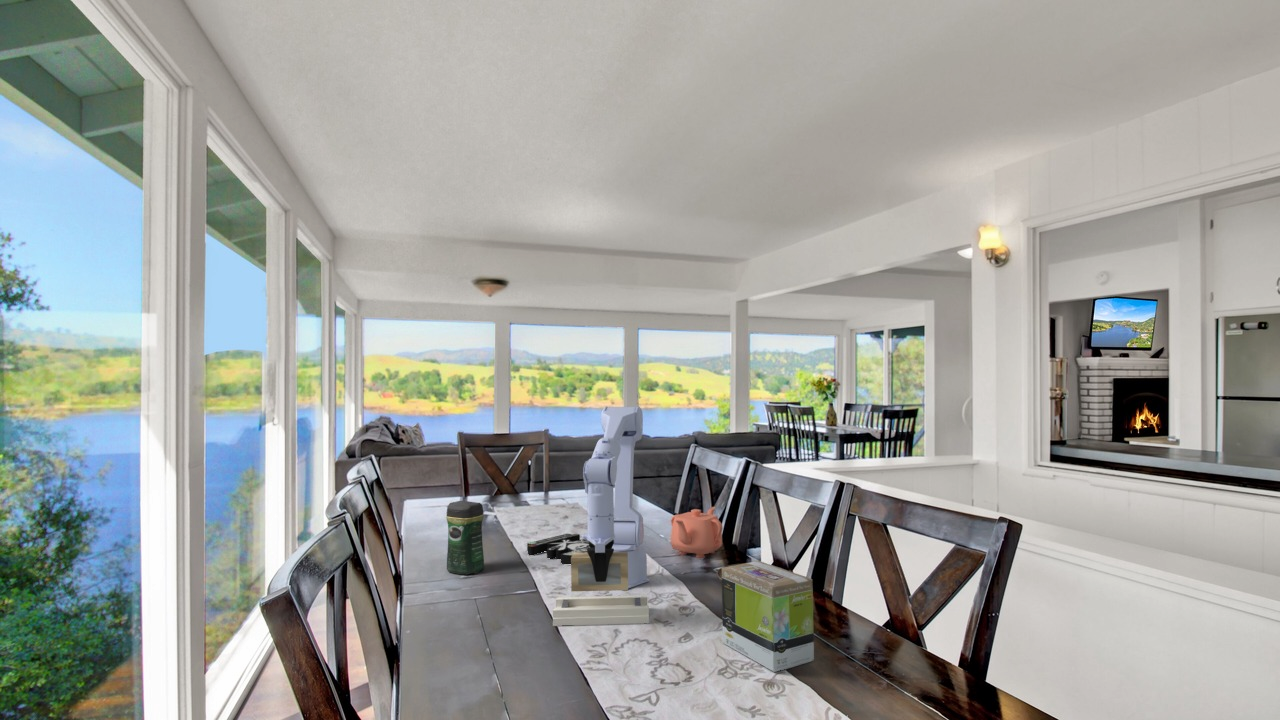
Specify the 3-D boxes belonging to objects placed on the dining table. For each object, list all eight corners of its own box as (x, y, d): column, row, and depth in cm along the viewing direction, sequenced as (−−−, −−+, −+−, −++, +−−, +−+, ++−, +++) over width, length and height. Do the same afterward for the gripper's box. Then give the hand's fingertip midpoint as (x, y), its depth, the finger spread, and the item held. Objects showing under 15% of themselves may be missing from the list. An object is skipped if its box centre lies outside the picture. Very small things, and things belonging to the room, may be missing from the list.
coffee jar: (489, 569, 173) (488, 500, 173) (468, 577, 166) (467, 505, 166) (462, 564, 177) (462, 497, 178) (441, 572, 170) (441, 502, 171)
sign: (571, 532, 202) (639, 548, 182) (571, 542, 202) (640, 559, 182) (522, 544, 188) (590, 563, 168) (522, 554, 188) (590, 574, 168)
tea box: (816, 661, 114) (814, 578, 115) (773, 674, 109) (771, 587, 110) (761, 632, 127) (759, 558, 128) (720, 643, 122) (719, 566, 123)
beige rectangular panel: (573, 585, 139) (572, 552, 139) (628, 584, 139) (627, 551, 139) (571, 591, 135) (570, 558, 135) (628, 590, 135) (627, 557, 135)
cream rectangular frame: (647, 607, 142) (646, 594, 142) (649, 623, 133) (649, 608, 133) (556, 610, 141) (556, 596, 141) (552, 626, 132) (552, 611, 132)
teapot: (715, 545, 195) (714, 503, 195) (729, 560, 178) (728, 514, 179) (667, 547, 193) (666, 505, 193) (676, 562, 176) (675, 516, 177)
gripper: (583, 507, 145) (584, 568, 144) (580, 522, 130) (580, 589, 130) (614, 507, 145) (615, 567, 144) (614, 521, 130) (615, 588, 130)
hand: (601, 577), depth 137 cm, fingers closed on beige rectangular panel, 4 cm apart
